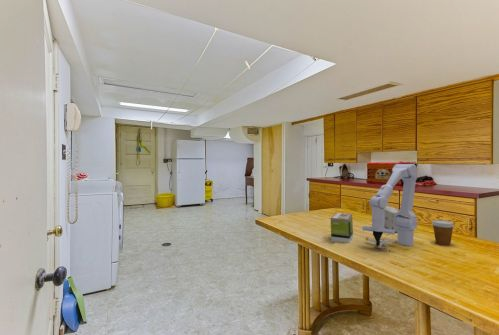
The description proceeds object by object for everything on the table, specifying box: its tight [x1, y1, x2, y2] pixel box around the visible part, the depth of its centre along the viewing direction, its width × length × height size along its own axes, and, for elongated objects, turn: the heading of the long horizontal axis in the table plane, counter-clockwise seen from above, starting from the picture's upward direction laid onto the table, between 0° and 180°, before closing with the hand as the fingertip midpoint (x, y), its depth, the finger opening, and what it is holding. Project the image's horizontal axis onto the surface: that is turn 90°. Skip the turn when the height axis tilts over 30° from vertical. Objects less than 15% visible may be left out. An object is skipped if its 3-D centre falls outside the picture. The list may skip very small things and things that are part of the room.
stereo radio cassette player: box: [385, 203, 407, 233], centre depth 165 cm, size 21×8×20 cm, turn 171°
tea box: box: [330, 212, 354, 244], centre depth 143 cm, size 15×10×15 cm, turn 149°
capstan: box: [365, 236, 396, 250], centre depth 127 cm, size 12×14×4 cm
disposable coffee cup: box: [431, 219, 455, 246], centre depth 133 cm, size 10×10×12 cm
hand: (378, 246), depth 125 cm, fingers closed, pressing on capstan
